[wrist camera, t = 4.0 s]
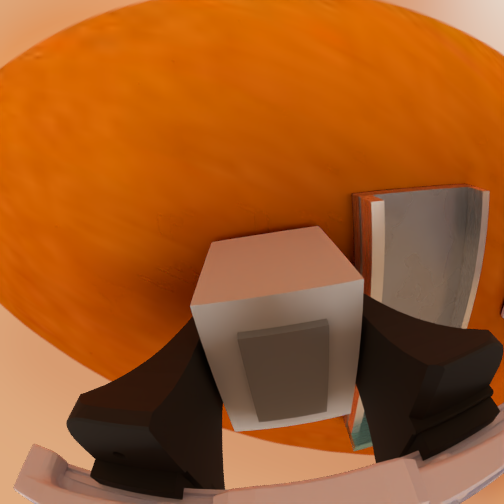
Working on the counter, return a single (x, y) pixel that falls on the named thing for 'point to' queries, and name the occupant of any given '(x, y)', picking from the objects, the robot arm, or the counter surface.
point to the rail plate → (418, 259)
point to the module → (280, 327)
